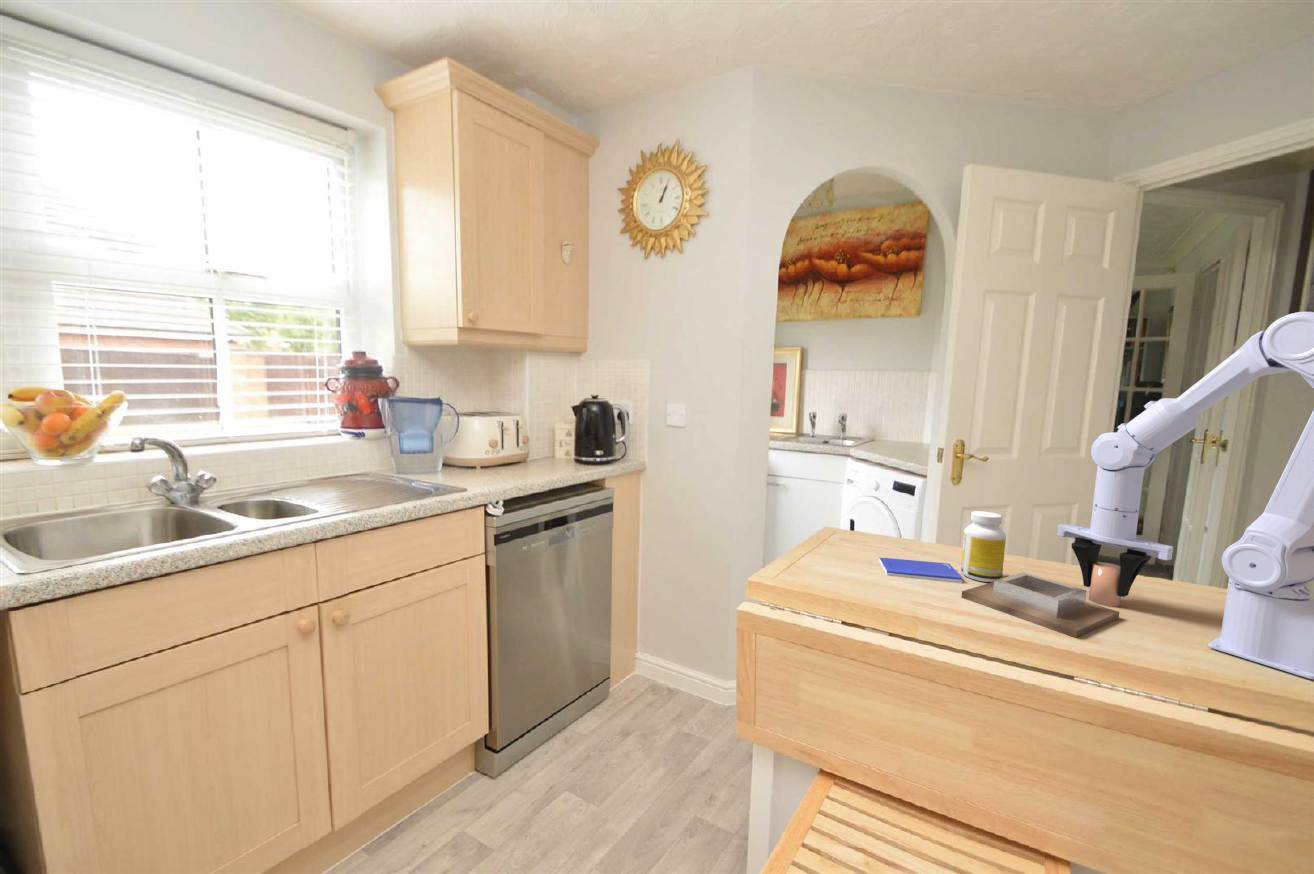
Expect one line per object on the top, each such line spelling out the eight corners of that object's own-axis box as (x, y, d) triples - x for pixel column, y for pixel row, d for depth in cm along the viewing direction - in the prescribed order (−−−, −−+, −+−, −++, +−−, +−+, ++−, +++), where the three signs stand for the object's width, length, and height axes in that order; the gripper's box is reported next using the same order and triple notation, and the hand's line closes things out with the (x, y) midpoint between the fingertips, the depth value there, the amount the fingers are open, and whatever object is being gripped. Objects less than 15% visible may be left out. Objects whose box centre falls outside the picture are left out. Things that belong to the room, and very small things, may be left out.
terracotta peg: (1124, 604, 89) (1128, 567, 89) (1113, 608, 87) (1118, 571, 87) (1094, 595, 93) (1099, 560, 92) (1084, 599, 91) (1088, 564, 90)
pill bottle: (1007, 585, 96) (1014, 519, 95) (967, 581, 98) (973, 516, 96) (993, 572, 103) (999, 511, 101) (955, 569, 104) (960, 508, 103)
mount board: (1118, 618, 84) (1119, 611, 84) (1075, 637, 76) (1076, 630, 76) (1006, 583, 97) (1007, 577, 97) (961, 597, 90) (962, 591, 90)
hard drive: (948, 562, 105) (879, 556, 107) (962, 577, 97) (887, 569, 99) (948, 570, 105) (878, 564, 107) (962, 585, 97) (886, 578, 99)
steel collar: (1084, 606, 85) (1086, 590, 85) (1056, 617, 81) (1058, 601, 80) (1021, 586, 93) (1023, 572, 93) (992, 596, 88) (994, 580, 88)
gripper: (1184, 515, 84) (1173, 601, 86) (1074, 497, 97) (1065, 572, 98) (1167, 520, 81) (1155, 610, 82) (1055, 500, 93) (1046, 578, 94)
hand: (1105, 590), depth 90 cm, fingers closed on terracotta peg, 4 cm apart
